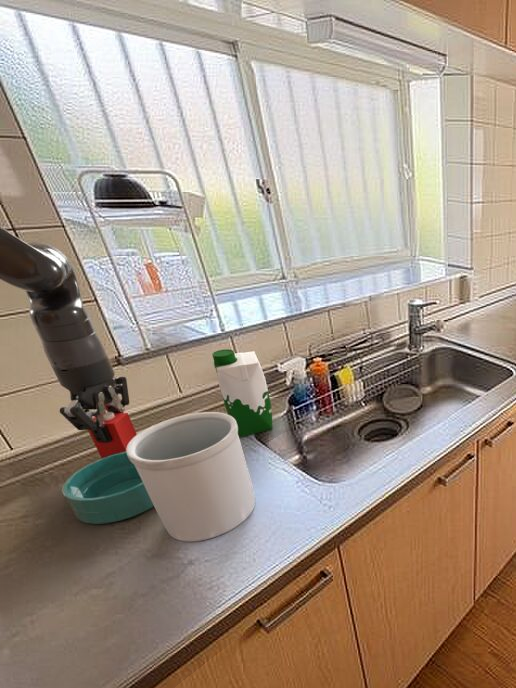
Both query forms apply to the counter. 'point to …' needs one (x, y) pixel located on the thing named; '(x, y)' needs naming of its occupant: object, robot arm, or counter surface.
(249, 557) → the counter surface
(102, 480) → the teal bowl
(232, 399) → the milk carton
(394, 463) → the counter surface
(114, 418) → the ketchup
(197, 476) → the utensil holder
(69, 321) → the robot arm
